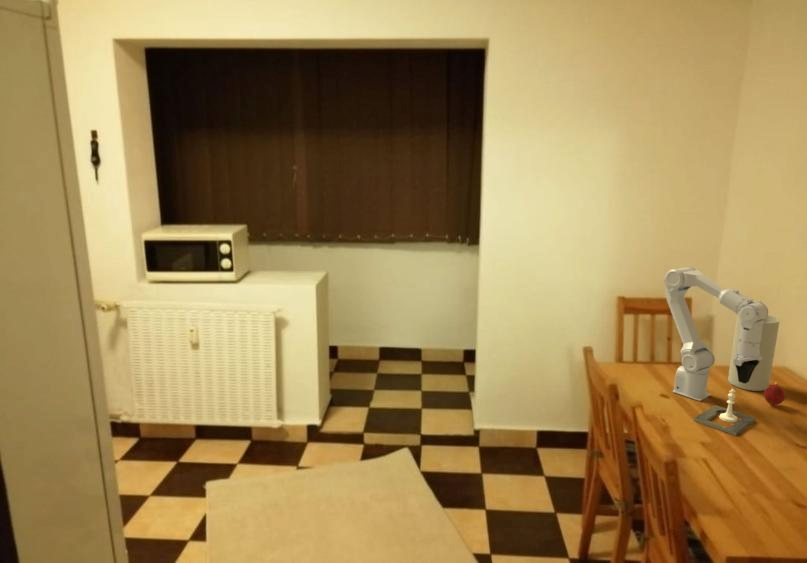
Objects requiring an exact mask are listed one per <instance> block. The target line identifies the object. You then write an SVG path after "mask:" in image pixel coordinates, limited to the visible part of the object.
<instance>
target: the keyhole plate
mask: <svg viewBox="0 0 807 563" xmlns="http://www.w3.org/2000/svg"><path fill="white" fill-rule="evenodd" d="M726 411H727V408H726V407H723V406H719V405H716V404H714V405H713V406H711V407H709V408H708V409H707V410H704V411H703V412H701V413H700V414H698V415H696V416H695V417H694V419H693V421H694V422H696V423H699V424H702V425H705V426H708V427H710V428H713V429H716V430H719V431H721V432H724V433H728V434H730V435H732V436H735V437H737V436H738V435H739V434H740V433H742V432H743V431H744V430H746V429H747V428H749V427H750V426H751V425H753V424H754V423H755V422H756V420H757V418H756V417H753V416H750V415H747V414H744V413H741V412H738V411H735V410H732V414H733V415H734V416H736V417H737V418H739V419H741V420H738V421H737V422H733V424H732V425H730V426H725V425H722V424H720V423H716V422H714V421H712V419H713V418H716V416H717V414H719V413H720V414H722V413H725V412H726Z"/></svg>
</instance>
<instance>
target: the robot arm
mask: <svg viewBox="0 0 807 563" xmlns="http://www.w3.org/2000/svg"><path fill="white" fill-rule="evenodd" d="M663 282H664V284H665V288H664V290H665V293H664V296H665V298H666V302H667V305H668V307H669V310H670V313H671V315H672V317H673V320H674V323H675V326H676V328H677V331H678V334H679V337H680V340H681V342H682V344H683V345H682V348H681V349H680V354H681V365H680V366H679V367H678V368H677V370H676V371H675V375H674V376H675V377H674V383H673V384H674V385H673V390H672V393H675V394H677V395H679V396H683V397H686V398H689V399H692V400H695V401H699V402H701V401H704V400H706V399H707V398H709V397H710V396H711V393H709V392H707V389H708V380H709V374H710V368H711V367H712V366H713V365H714V364H715V361H716V360H715V355H714V354H713V352H712V351H711V350H710V349H709V347H708V345H707V343H705V342H703V340H701V338H700V335H699V332H698V330H697V327H696V326H695V322H694V320H693V317H692V315H691V312H690V309H689V306H688V304H687V301H686V299H685V296H686V294H687V292H688V291H689V289H691V287H697V288H699V289H700V290H703V291H704V292H706V293H709V294H711V295H712V296H713V297H716V298H718V301H719V304H720V305H722V306H723V307H726V308H727V309H728V310H730V311H732V312H733V313H735V314H736V315H737V314H738V315H739V318H740V319H741V327H740V334H739V341H738V348H737V352H736V358H734V365H735V366H736V369H737V373H738V380H739V382H742V383H745V384H746V383H747V382H749V380H750V377H751V375H752V373H753V371H754V369H755V367H756V366H757V365H758V364H759V361H758V360H762V357H761V356H759V354H760V350H759V347H760V341H761V334H762V327H763V319H765V318H766V317H767V316H768V315H769V308H768V306H767V305H766V304H765V303H764V302H762V301H753V298H751V297H749V298H748V297H747V296H745V295H743V294H742V293H740V290H739V289H736V288H734V289H733V288H728V289H725V288H724V287H723V286H721V285H719V284H718V283H716V282H715V281H714V280H712V279H710V278H709V277H708V276H706V275H704V274H703V273H702V272H701V270H698V269H696V268H695V267H692V266H685V267H681V268H672V269H670V270H668V271H667V272H666V273H665V276H664V277H663ZM760 320H762V321H760Z"/></svg>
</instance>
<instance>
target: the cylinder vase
mask: <svg viewBox="0 0 807 563" xmlns="http://www.w3.org/2000/svg"><path fill="white" fill-rule="evenodd" d="M760 321H762V320H760ZM740 327H741V319H740V318H739V315H738V314H737V313H736V322H735V328H734V335H733V342H732V347H731V348H732V349H731V354H730V355H731V356H730V362H729V369H728V376H727V381H728V382H729V383H730V385H732V386H734V387H736V388H739V389H742V390H745V391H750V390H751V391H752V392H763V391H765V389H766V388H767V387H769V386H770V381H771V375H772V371H773V369H772V368H773V363H774V358H775V351H776V345H777V338H778V333H779V327H780V319H779V318H777V317H776V316H772V315H769V314H768V316H767V317H766V318H765V319H763V327H762V334H761V341H760V347H759V350H760V354H759V356H761V357H762V360H758V361H759V364H758V365H757V366H756V367H755V369H754V371H753V373H752V375H751V377H750V380H749V382H747V383H746V384H745V383H742V382H739V380H738V373H737V369H736V366H735V365H734V358H736V352H737V348H738V341H739V334H740Z"/></svg>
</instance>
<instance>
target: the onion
mask: <svg viewBox="0 0 807 563" xmlns="http://www.w3.org/2000/svg"><path fill="white" fill-rule="evenodd" d="M763 397H764V399H765V401H766V402H767V403H768V404H770V405H771V406H776V405H779V404H782V403H783V402H784V401H785V400H786V392H785V390H784V388H782V387H781V386H780V385H779V383H778V382H774V384H772V385H771V384H770V385H769V387H767V388H766V389H765V390H764V392H763Z"/></svg>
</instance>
